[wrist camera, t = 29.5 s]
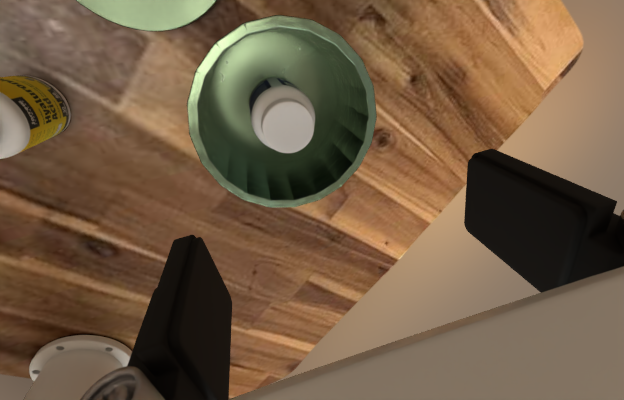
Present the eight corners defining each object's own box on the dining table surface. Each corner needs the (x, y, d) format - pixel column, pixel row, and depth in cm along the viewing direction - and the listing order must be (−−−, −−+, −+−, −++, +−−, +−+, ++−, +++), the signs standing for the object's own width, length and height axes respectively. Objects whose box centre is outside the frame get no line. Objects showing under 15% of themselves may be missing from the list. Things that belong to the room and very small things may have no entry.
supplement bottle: (86, 113, 28) (20, 144, 20) (44, 146, 29) (-39, 189, 20) (30, 60, 26) (-75, 69, 17) (-16, 97, 26) (-140, 123, 18)
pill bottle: (256, 135, 32) (261, 169, 23) (242, 82, 29) (243, 99, 21) (305, 125, 32) (327, 153, 24) (296, 72, 30) (317, 83, 21)
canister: (350, 149, 35) (383, 181, 27) (231, 182, 34) (228, 226, 26) (329, 8, 28) (365, -6, 20) (178, 43, 27) (150, 44, 19)
